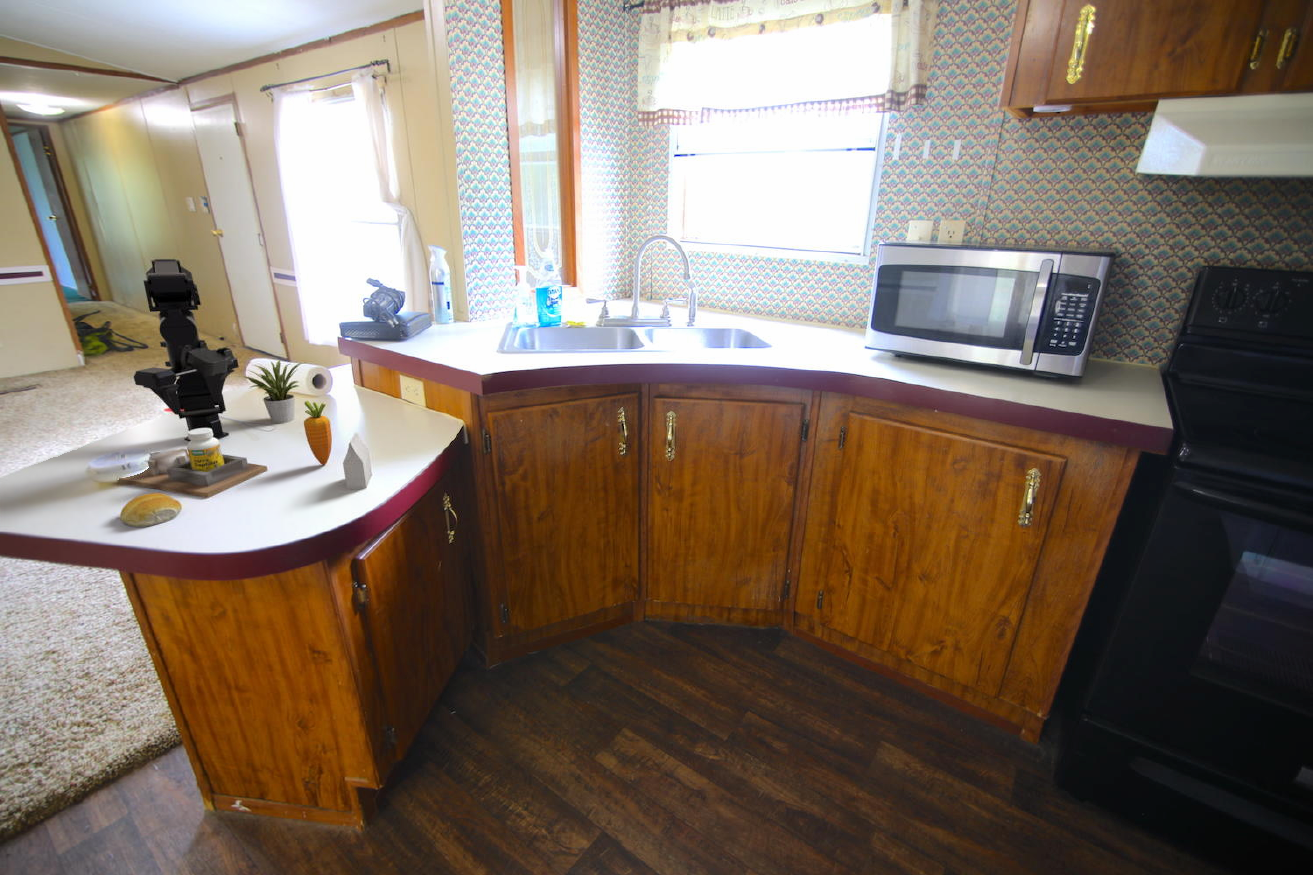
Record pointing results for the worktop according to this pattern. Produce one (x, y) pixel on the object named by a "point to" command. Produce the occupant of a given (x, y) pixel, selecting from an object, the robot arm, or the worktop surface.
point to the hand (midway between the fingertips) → (198, 408)
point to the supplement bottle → (204, 450)
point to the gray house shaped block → (357, 464)
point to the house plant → (277, 393)
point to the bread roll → (150, 510)
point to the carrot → (318, 432)
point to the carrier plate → (192, 474)
